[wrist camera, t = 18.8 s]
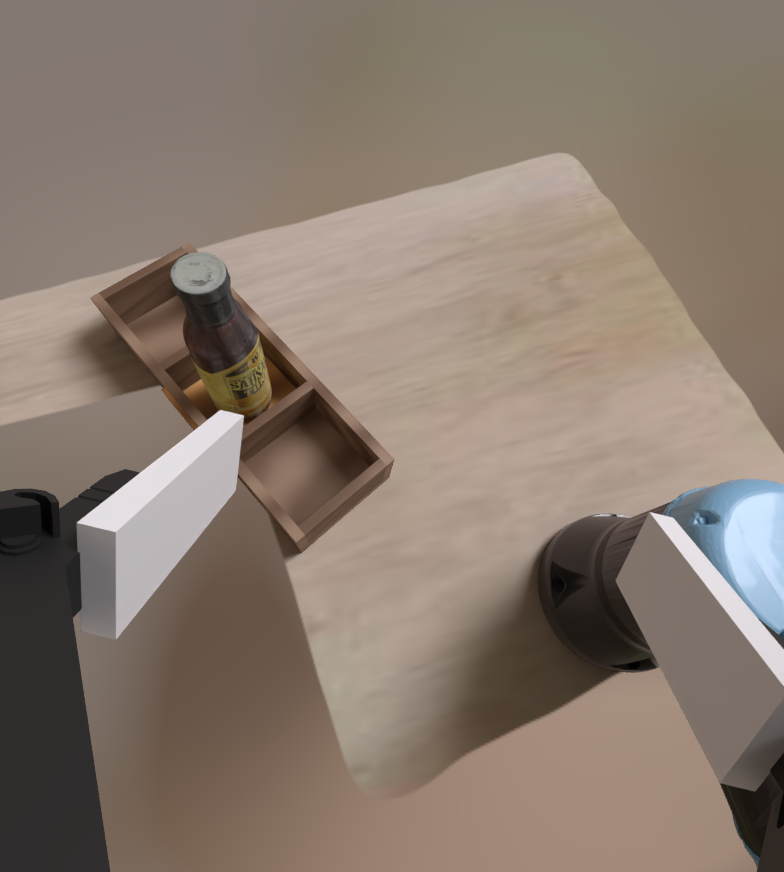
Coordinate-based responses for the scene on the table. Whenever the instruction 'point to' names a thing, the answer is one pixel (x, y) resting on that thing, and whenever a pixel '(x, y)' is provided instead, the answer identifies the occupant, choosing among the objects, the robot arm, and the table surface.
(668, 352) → the table surface
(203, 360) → the sauce bottle
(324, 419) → the wooden compartment tray
